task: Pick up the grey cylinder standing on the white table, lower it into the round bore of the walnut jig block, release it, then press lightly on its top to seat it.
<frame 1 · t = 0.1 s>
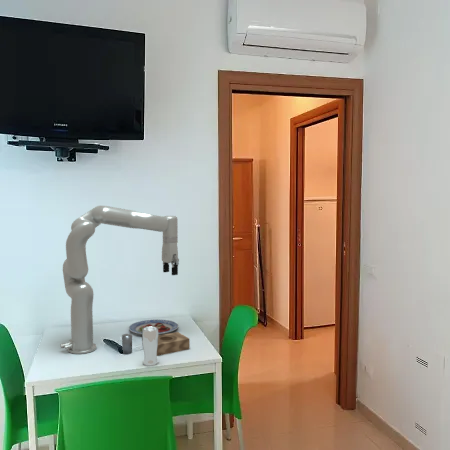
hand: (170, 273, 230), 31 cm above the table, tool pointing down, fingers open, 9 cm apart
jig: (166, 349, 209), on the table
ceramic plate: (153, 330, 238), on the table
grey cylinder: (127, 352, 204), on the table
beer glass: (150, 363, 192), on the table
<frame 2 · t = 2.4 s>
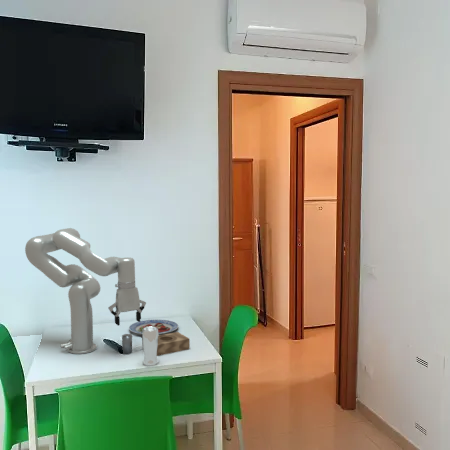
hand: (128, 322, 203), 14 cm above the table, tool pointing down, fingers open, 9 cm apart
nothing on the table moved.
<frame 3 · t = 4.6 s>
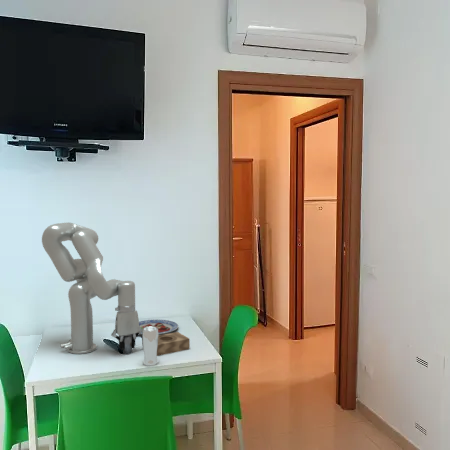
hand: (127, 348, 204), 2 cm above the table, tool pointing down, fingers closed on grey cylinder, 4 cm apart
grey cylinder: (127, 352, 204), on the table, touching gripper
everything else where it was.
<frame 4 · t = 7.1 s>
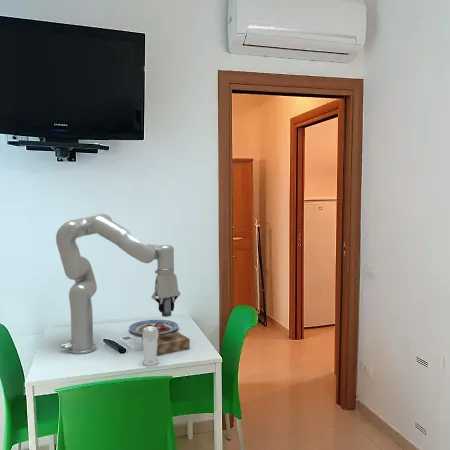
hand: (166, 310, 208), 18 cm above the table, tool pointing down, fingers closed on grey cylinder, 4 cm apart
grey cylinder: (166, 315, 208), point 16 cm above the table, touching gripper
everything else where it was.
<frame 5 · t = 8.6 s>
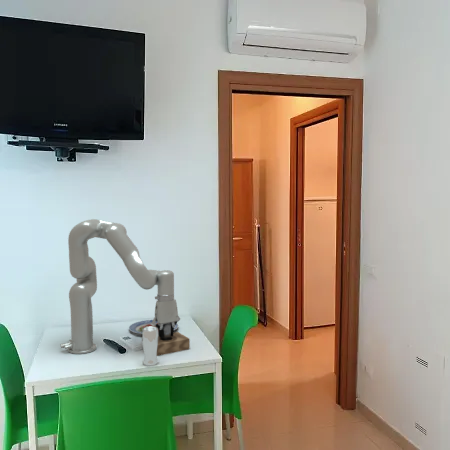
hand: (166, 336, 209), 6 cm above the table, tool pointing down, fingers closed on grey cylinder, 4 cm apart
grey cylinder: (166, 340, 209), point 4 cm above the table, touching gripper
everything else where it was.
when the fingers open (6 cm above the table, at t = 9.7 s): grey cylinder drops 3 cm, resting in jig.
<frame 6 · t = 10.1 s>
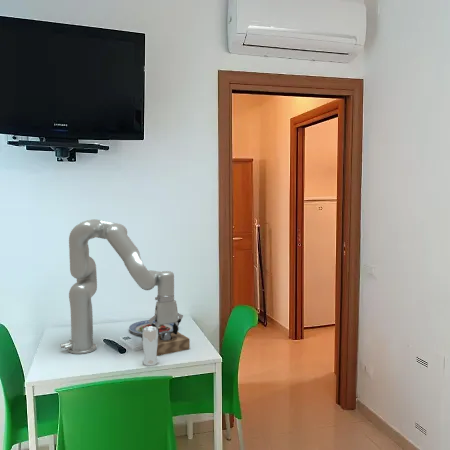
hand: (166, 335, 209), 7 cm above the table, tool pointing down, fingers open, 8 cm apart
grey cylinder: (166, 349, 209), resting in jig
everything else where it was.
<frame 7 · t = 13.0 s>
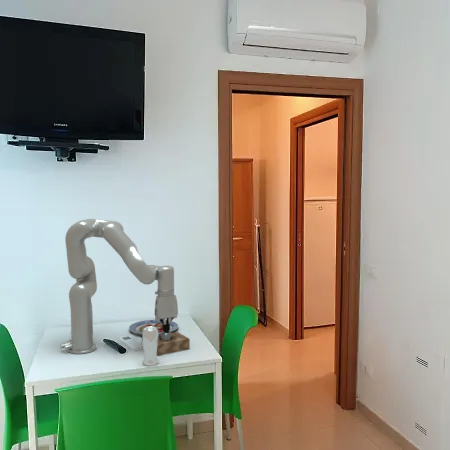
hand: (166, 331, 209), 8 cm above the table, tool pointing down, fingers closed
nothing on the table moved.
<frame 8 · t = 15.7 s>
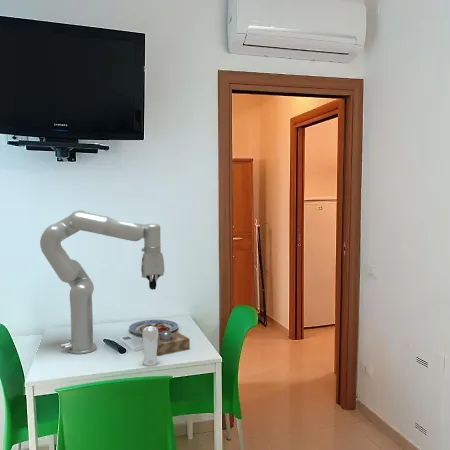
hand: (152, 288, 212), 27 cm above the table, tool pointing down, fingers closed
nothing on the table moved.
at the end: grey cylinder 0.1 cm off-centre on the jig, point 0.0 cm above the jig's base; grey cylinder tilted 0°; the gripper is holding nothing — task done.
